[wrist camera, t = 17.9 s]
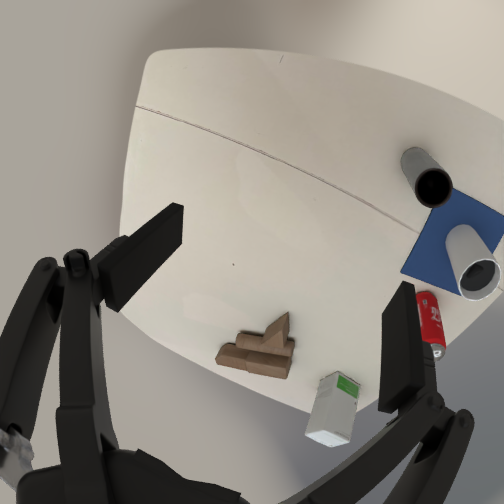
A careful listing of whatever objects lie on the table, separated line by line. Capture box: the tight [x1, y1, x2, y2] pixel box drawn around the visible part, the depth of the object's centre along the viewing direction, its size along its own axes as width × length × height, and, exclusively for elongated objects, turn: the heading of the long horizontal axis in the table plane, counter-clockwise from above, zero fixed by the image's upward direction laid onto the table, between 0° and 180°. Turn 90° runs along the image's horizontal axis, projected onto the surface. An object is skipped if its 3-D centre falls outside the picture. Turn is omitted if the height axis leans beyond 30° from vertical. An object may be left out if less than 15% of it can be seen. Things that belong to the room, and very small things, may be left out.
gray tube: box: [401, 148, 453, 208], centre depth 30 cm, size 4×4×10 cm
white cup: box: [445, 224, 501, 301], centre depth 32 cm, size 7×7×10 cm
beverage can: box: [416, 292, 446, 362], centre depth 39 cm, size 5×5×12 cm
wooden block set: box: [215, 312, 294, 379], centre depth 60 cm, size 17×6×18 cm
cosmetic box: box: [305, 371, 360, 447], centre depth 56 cm, size 8×7×16 cm
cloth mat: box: [400, 188, 504, 296], centre depth 37 cm, size 16×14×1 cm
